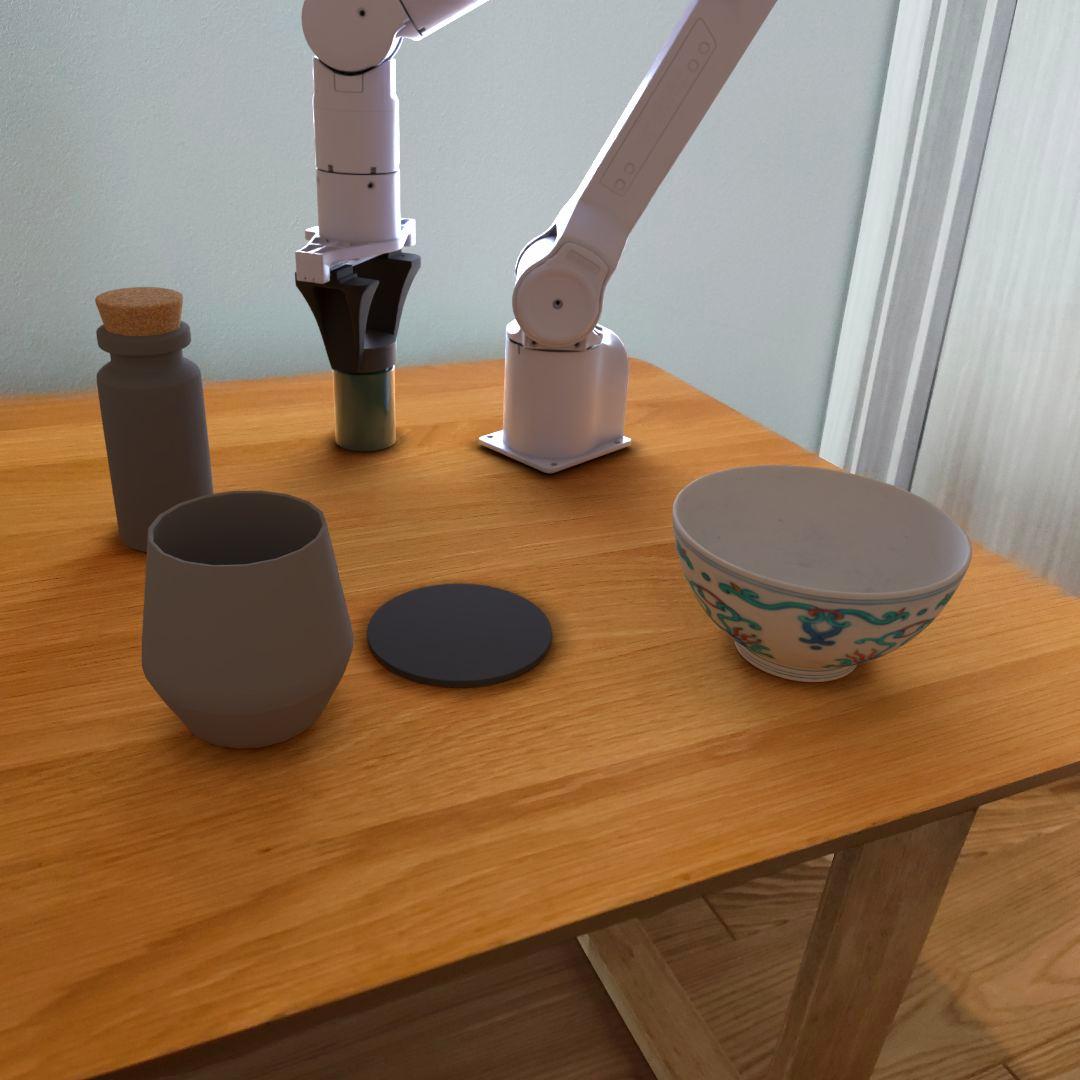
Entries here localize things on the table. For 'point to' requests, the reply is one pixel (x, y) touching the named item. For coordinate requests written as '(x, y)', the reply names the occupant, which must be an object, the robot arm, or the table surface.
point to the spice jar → (364, 409)
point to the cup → (244, 616)
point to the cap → (379, 351)
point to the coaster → (459, 635)
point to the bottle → (150, 408)
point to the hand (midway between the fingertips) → (363, 359)
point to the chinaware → (815, 565)
